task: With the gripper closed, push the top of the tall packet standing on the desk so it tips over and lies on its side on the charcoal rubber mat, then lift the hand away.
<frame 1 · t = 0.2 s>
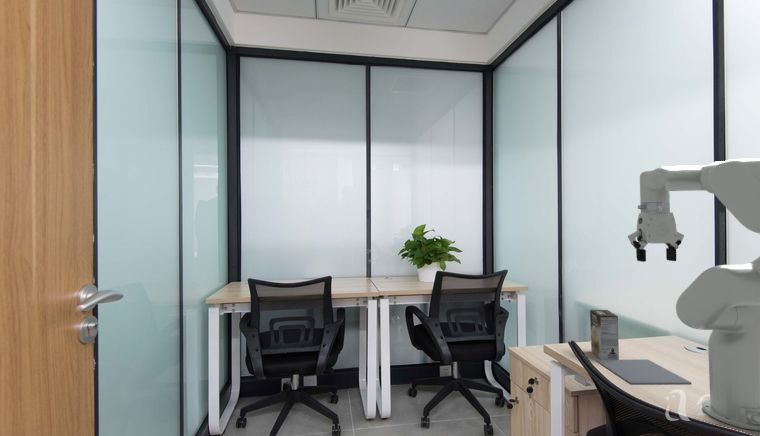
hand: (656, 261, 113), 37 cm above the table, fingers open, 9 cm apart
coffee box: (604, 356, 129), on the table
rubber mat: (640, 371, 115), on the table
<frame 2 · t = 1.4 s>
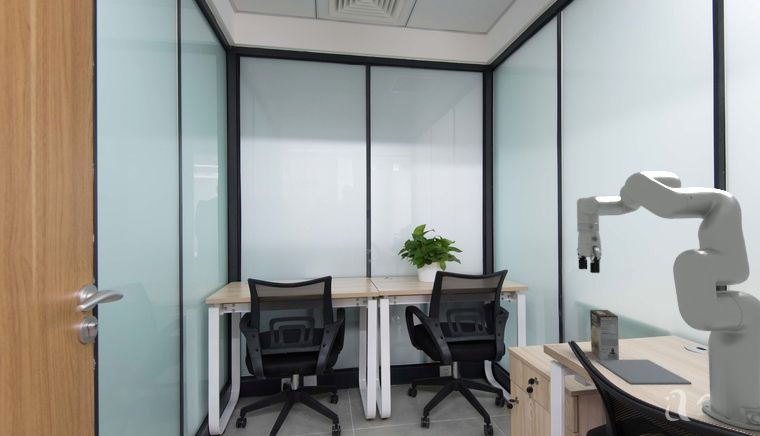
hand: (588, 270, 140), 30 cm above the table, fingers open, 9 cm apart
nothing on the table moved.
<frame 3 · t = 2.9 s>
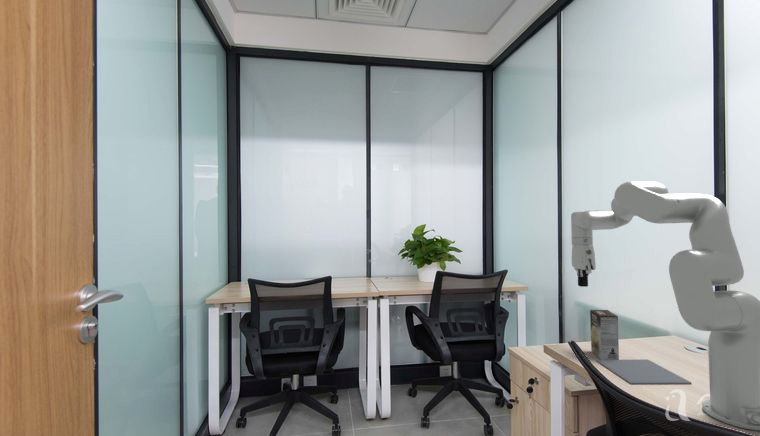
hand: (582, 286, 143), 23 cm above the table, fingers closed
nothing on the table moved.
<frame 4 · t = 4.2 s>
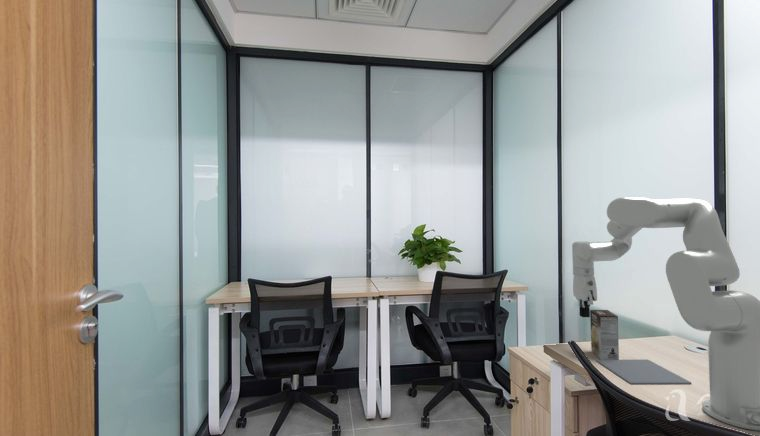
hand: (584, 316, 142), 11 cm above the table, fingers closed
nothing on the table moved.
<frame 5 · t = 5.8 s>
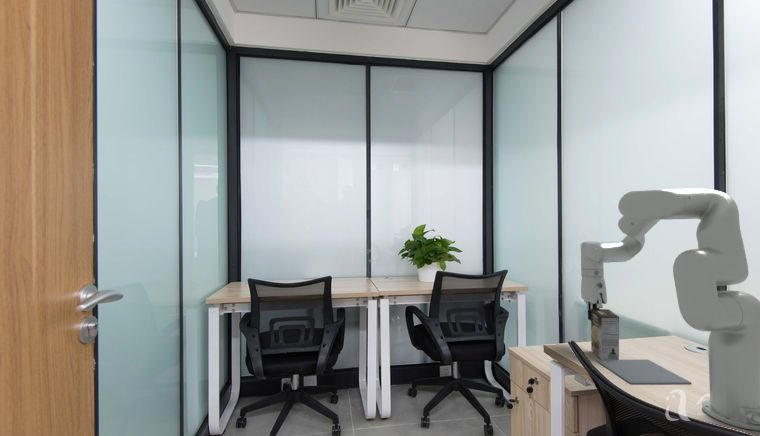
hand: (593, 320, 136), 11 cm above the table, fingers closed
coffee box: (604, 355, 129), on the table, touching gripper
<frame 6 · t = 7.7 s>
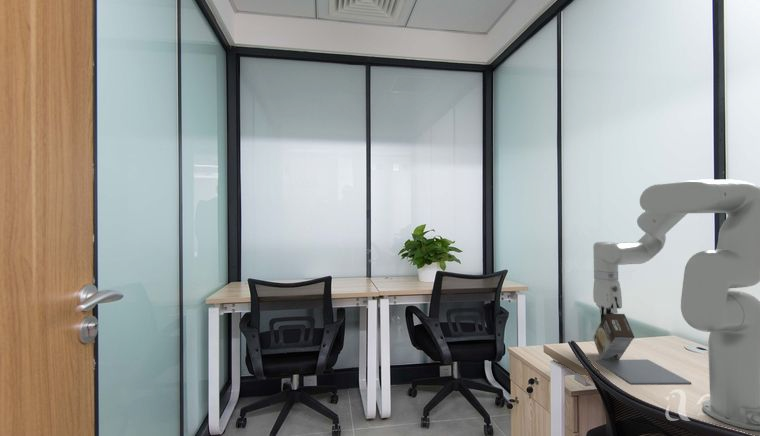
hand: (606, 325, 127), 12 cm above the table, fingers closed
coffee box: (605, 349, 128), point 3 cm above the table, touching gripper, rubber mat
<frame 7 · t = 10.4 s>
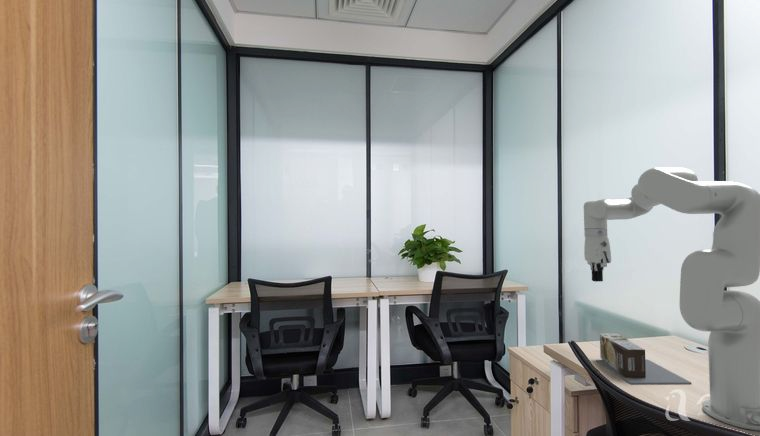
hand: (597, 281, 133), 27 cm above the table, fingers closed
coffee box: (608, 345, 125), point 5 cm above the table, touching rubber mat
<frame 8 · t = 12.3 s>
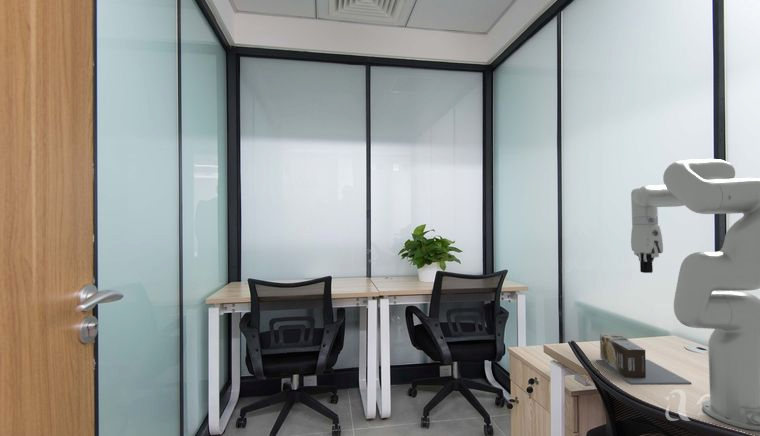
hand: (646, 272, 126), 31 cm above the table, fingers closed
nothing on the table moved.
at the end: coffee box tilted 89°; coffee box touching rubber mat; coffee box inside the target area (6.9 cm from its centre), point 4.9 cm above the table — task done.
